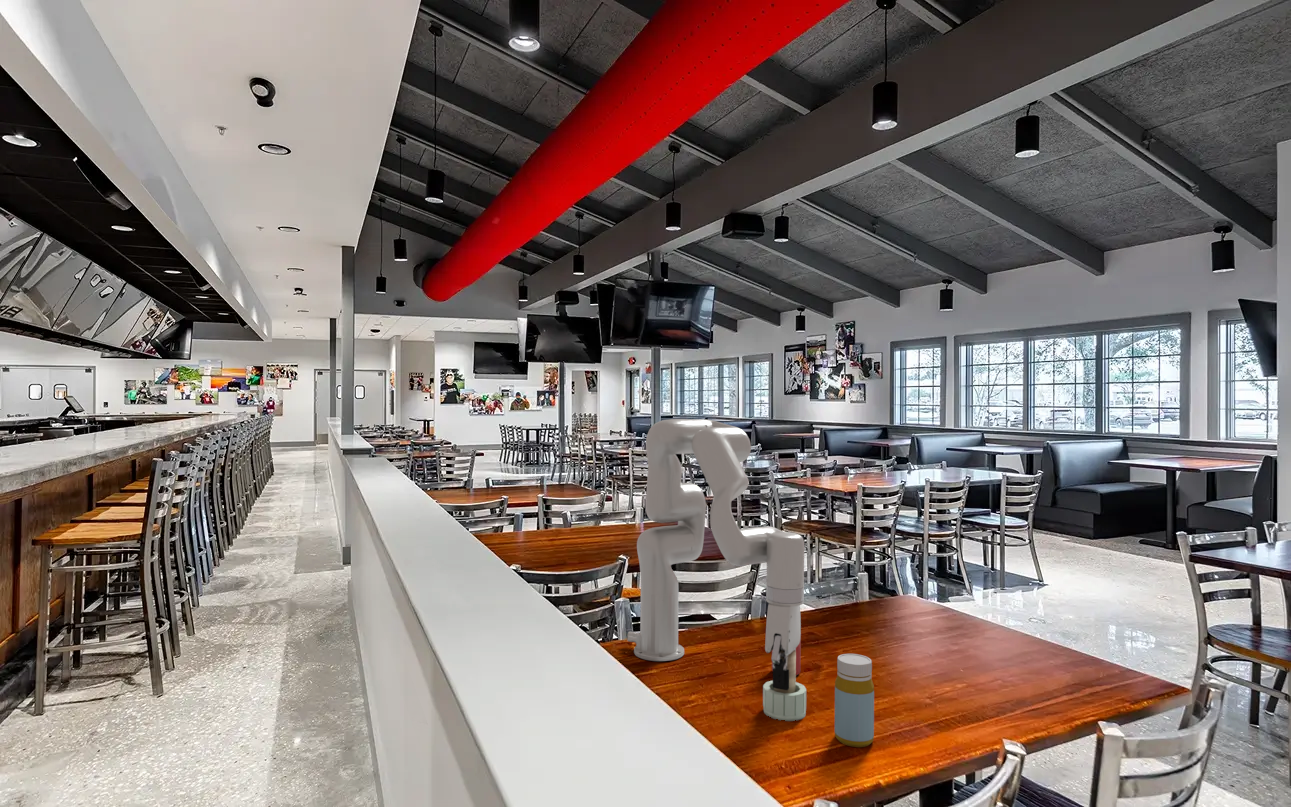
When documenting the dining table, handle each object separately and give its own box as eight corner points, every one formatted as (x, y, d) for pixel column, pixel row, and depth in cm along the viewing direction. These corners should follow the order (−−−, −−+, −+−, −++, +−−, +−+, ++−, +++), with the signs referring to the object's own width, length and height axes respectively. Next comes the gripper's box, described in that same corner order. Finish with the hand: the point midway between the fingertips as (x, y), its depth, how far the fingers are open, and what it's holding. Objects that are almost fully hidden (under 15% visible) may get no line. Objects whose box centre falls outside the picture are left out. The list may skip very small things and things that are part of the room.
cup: (758, 715, 146) (758, 690, 146) (770, 701, 154) (770, 677, 154) (799, 724, 142) (799, 698, 142) (810, 708, 150) (810, 684, 150)
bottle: (829, 732, 139) (829, 653, 139) (864, 731, 140) (865, 652, 140) (842, 749, 132) (842, 666, 132) (879, 747, 133) (880, 665, 133)
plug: (770, 701, 147) (771, 652, 147) (777, 694, 151) (777, 645, 151) (792, 706, 145) (792, 655, 145) (798, 698, 149) (798, 649, 149)
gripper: (779, 583, 157) (778, 668, 157) (754, 601, 143) (753, 695, 142) (813, 587, 154) (813, 674, 154) (791, 606, 139) (791, 702, 139)
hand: (784, 683), depth 148 cm, fingers closed on plug, 4 cm apart
